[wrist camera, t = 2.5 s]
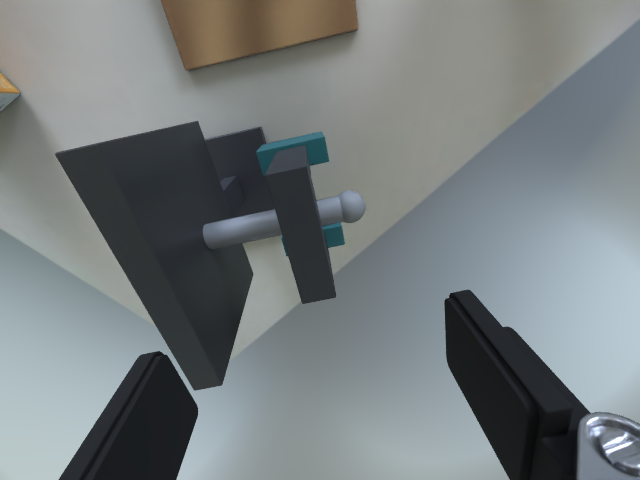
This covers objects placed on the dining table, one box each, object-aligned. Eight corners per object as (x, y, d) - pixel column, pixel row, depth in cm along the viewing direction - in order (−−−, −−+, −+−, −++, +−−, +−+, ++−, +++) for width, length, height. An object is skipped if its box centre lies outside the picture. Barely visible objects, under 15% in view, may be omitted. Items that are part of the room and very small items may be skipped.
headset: (288, 238, 31) (280, 312, 21) (261, 144, 27) (234, 175, 16) (340, 227, 31) (360, 296, 20) (321, 131, 27) (334, 153, 16)
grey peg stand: (219, 251, 40) (137, 402, 20) (169, 127, 33) (-31, 172, 13) (351, 223, 39) (401, 351, 19) (328, 90, 32) (370, 80, 12)
